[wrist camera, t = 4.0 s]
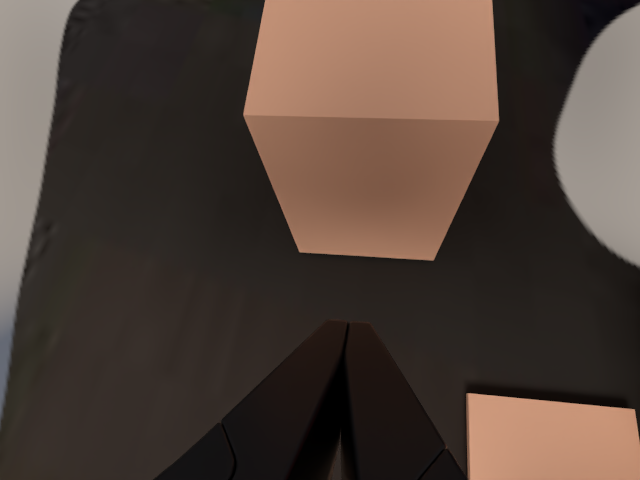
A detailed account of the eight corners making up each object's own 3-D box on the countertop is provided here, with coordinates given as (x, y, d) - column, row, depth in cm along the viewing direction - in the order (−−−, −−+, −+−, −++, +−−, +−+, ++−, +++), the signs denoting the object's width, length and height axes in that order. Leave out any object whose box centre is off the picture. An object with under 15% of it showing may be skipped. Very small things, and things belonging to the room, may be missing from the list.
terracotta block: (433, 260, 19) (498, 120, 10) (299, 252, 20) (243, 115, 11) (434, 144, 21) (488, -61, 12) (313, 140, 22) (275, -55, 13)
